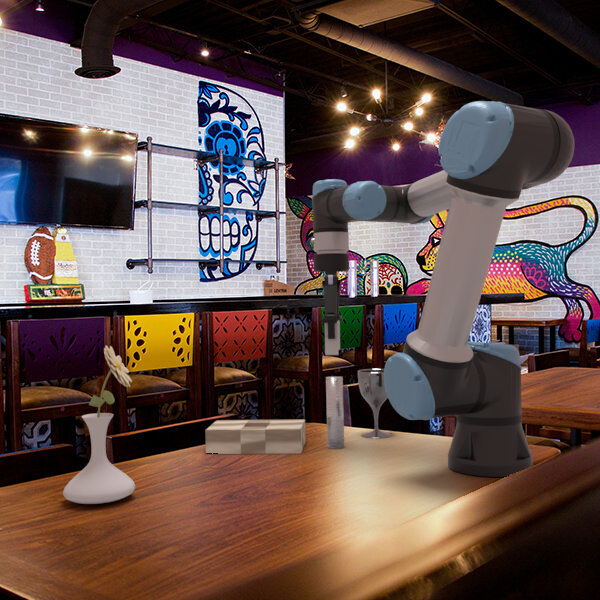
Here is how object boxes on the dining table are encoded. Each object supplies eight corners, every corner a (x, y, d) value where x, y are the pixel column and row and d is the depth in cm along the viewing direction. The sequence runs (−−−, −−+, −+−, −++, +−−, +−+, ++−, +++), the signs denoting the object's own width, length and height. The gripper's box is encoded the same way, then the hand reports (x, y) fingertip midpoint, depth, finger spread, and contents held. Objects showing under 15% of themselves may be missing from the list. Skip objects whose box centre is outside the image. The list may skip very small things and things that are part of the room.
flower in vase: (108, 512, 108) (104, 349, 108) (47, 507, 112) (43, 349, 112) (154, 490, 121) (150, 343, 121) (98, 486, 125) (94, 343, 125)
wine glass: (353, 437, 163) (352, 371, 163) (367, 431, 170) (365, 368, 170) (386, 439, 159) (384, 372, 159) (398, 433, 166) (397, 369, 166)
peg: (344, 448, 150) (342, 378, 150) (327, 448, 151) (325, 378, 151) (344, 445, 154) (342, 376, 154) (327, 445, 154) (326, 376, 154)
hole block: (301, 453, 147) (300, 429, 147) (205, 454, 149) (205, 430, 149) (305, 441, 159) (304, 419, 159) (217, 442, 161) (216, 420, 161)
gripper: (316, 256, 165) (318, 347, 165) (309, 250, 140) (311, 357, 140) (349, 255, 165) (351, 347, 165) (347, 249, 140) (349, 357, 140)
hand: (333, 352), depth 153 cm, fingers open, 13 cm apart
